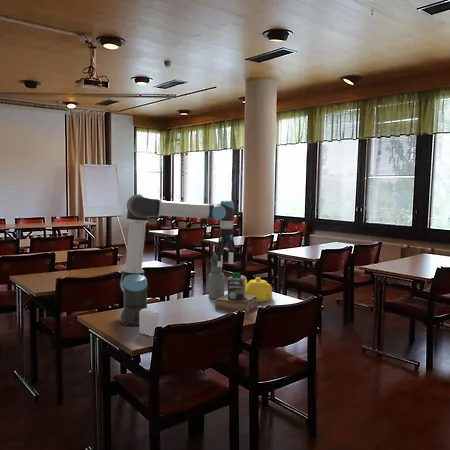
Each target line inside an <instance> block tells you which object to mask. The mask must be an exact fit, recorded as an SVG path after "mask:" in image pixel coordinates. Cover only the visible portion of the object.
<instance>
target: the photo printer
mask: <svg viewBox="0 0 450 450" xmlns="http://www.w3.org/2000/svg"><path fill="white" fill-rule="evenodd" d="M159 321H160V319H159V313H158V311H156V310H154V309H152V308H148V307H147V308H146V309H142V310H140V312H139V326H138V327H139V328H138V329H139V331H138V333H139V334H140V333H141V334H140V335H143V334H145V335H144V336H146V335H148V336H147V337H150V336H151V338H154V337H153V336H154V331H155V328H156V327H160V324H159V323H160V322H159Z"/></svg>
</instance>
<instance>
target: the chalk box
mask: <svg viewBox="0 0 450 450" xmlns="http://www.w3.org/2000/svg"><path fill="white" fill-rule="evenodd" d="M231 274H232V275H231V276H229V277H228V279H227V294H228V299H239V300H243V299H244V297H245V277H246V276H245V277H242V276H241V275H242V273H241V272H232V273H231Z"/></svg>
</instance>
